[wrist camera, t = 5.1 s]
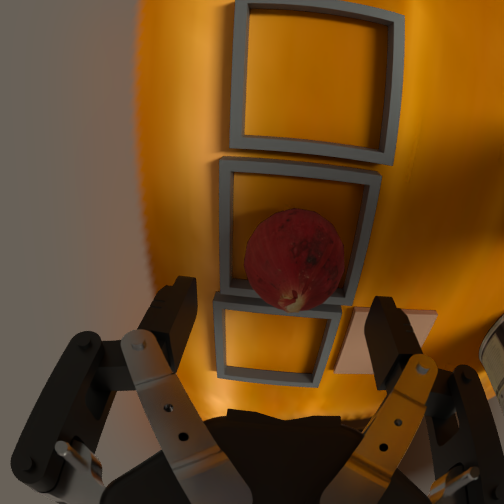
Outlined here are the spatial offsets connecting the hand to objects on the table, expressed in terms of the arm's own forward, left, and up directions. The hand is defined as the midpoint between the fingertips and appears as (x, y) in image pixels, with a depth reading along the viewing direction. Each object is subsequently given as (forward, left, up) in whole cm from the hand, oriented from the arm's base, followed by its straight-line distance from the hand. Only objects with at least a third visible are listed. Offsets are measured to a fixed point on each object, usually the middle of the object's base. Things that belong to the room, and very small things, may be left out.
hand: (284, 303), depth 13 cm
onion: (-1, 0, -9) cm, 9 cm away
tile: (-14, +5, -9) cm, 17 cm away
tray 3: (-5, +10, -9) cm, 14 cm away
